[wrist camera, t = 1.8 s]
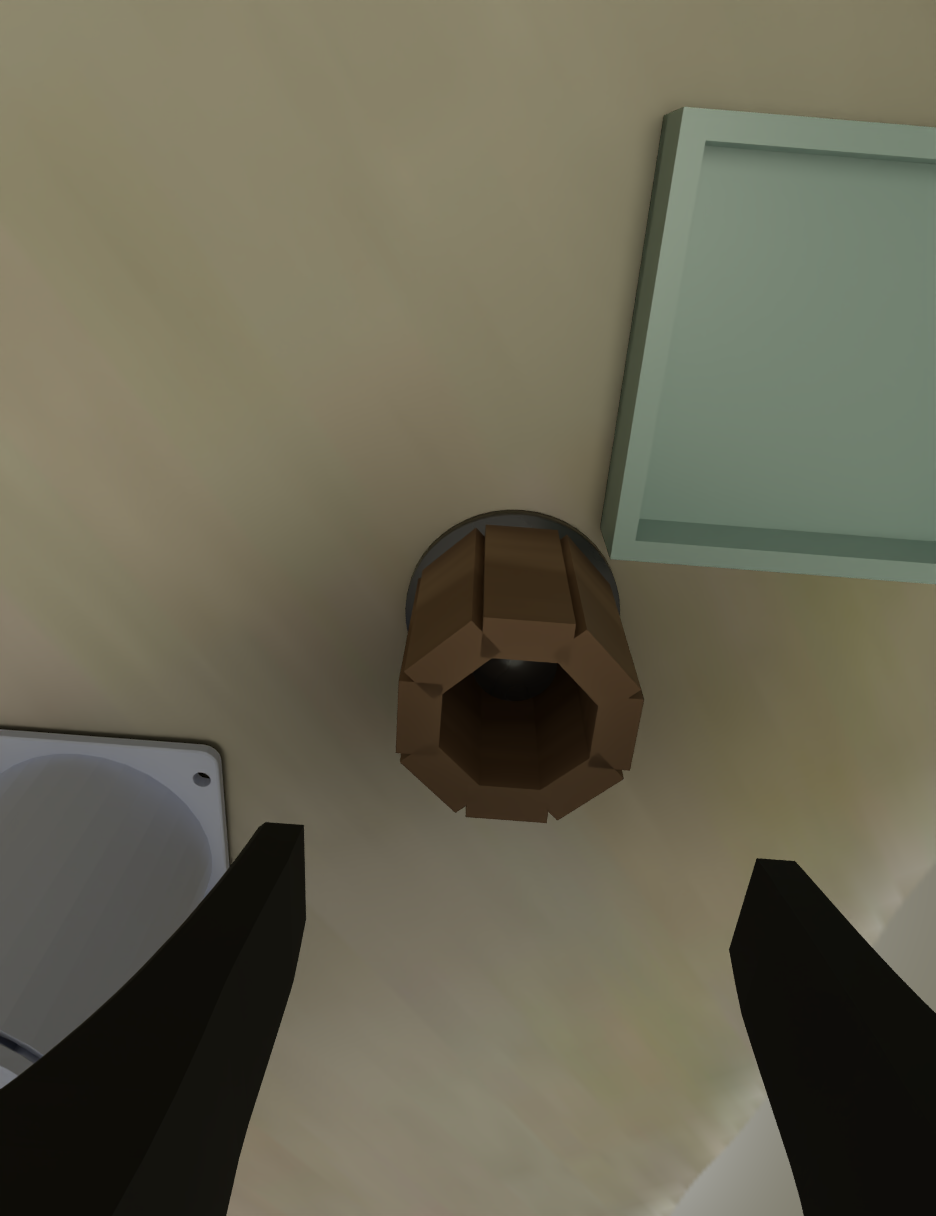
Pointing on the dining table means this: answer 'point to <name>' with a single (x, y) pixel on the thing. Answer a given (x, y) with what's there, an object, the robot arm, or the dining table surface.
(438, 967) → the dining table surface
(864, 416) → the tray
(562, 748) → the brown hollow octagonal cylinder
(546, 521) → the dark grey round stand
